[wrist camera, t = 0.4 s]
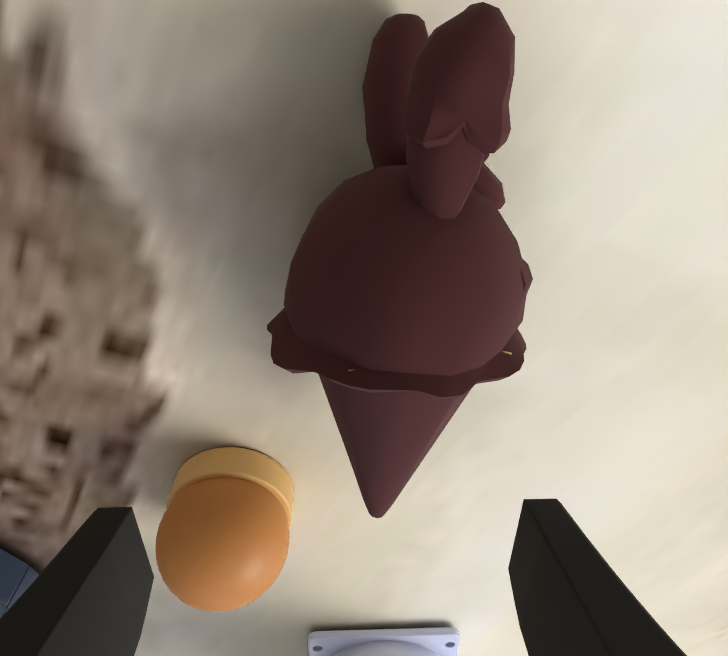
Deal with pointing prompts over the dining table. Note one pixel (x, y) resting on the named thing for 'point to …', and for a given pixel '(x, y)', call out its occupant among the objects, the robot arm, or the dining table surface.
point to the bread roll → (225, 528)
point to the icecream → (413, 252)
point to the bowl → (13, 579)
